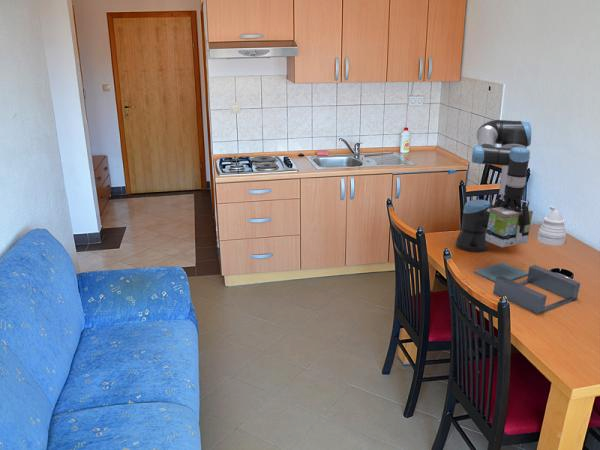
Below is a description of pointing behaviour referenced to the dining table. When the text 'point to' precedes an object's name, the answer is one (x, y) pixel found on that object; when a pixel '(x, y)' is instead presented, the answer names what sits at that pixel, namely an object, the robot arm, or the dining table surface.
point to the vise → (533, 298)
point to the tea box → (505, 227)
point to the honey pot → (552, 229)
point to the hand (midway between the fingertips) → (507, 235)
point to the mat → (501, 272)
